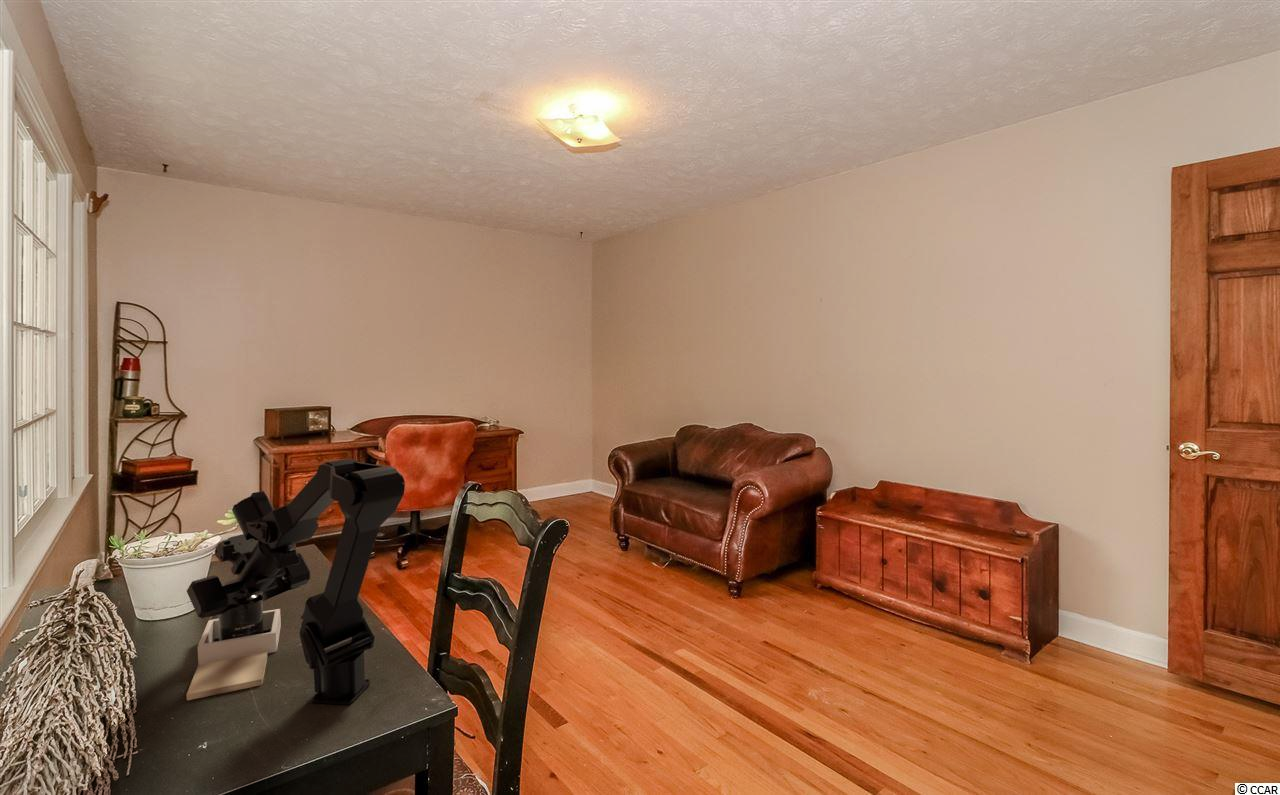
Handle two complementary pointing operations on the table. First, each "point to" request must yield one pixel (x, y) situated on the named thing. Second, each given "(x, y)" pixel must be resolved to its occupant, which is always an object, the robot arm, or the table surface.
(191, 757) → the table surface
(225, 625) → the supplement bottle
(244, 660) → the birch pad
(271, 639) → the white open box
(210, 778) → the table surface
